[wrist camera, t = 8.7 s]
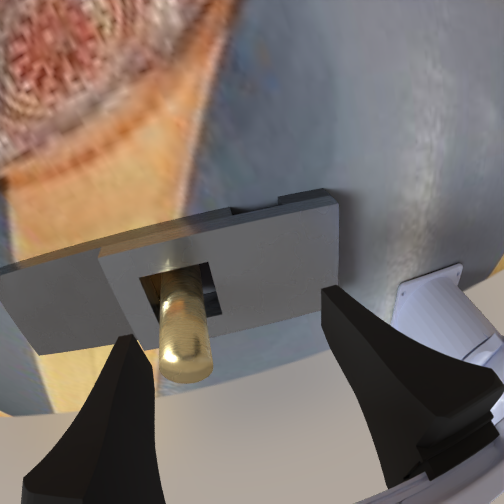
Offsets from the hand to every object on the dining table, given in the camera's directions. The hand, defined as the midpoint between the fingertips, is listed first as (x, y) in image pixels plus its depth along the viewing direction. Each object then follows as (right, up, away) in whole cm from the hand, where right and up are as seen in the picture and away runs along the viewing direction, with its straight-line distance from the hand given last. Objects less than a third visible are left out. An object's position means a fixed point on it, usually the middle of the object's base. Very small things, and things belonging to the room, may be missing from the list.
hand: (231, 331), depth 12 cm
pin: (-4, +2, +9) cm, 10 cm away
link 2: (-1, +2, +10) cm, 10 cm away
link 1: (-9, 0, +9) cm, 13 cm away
